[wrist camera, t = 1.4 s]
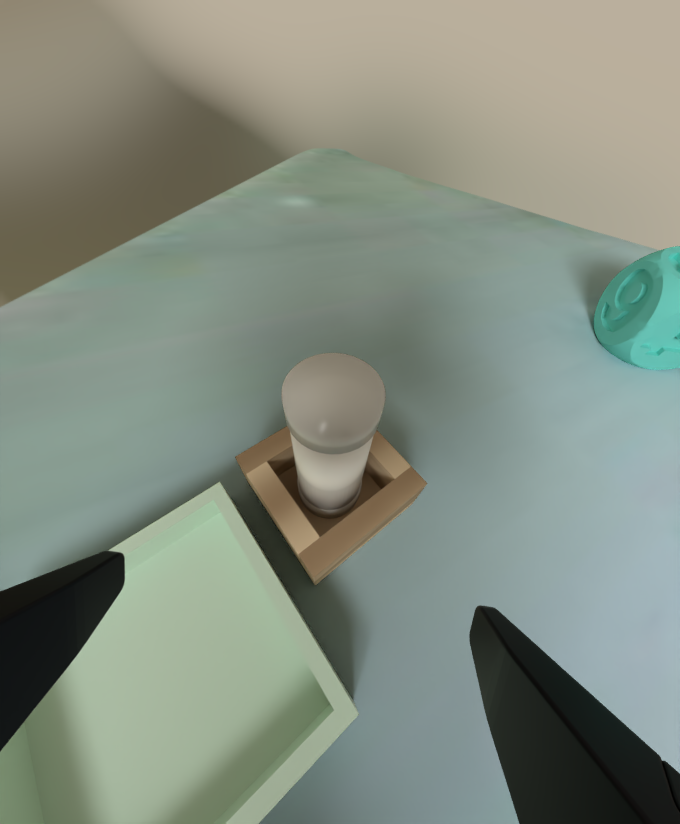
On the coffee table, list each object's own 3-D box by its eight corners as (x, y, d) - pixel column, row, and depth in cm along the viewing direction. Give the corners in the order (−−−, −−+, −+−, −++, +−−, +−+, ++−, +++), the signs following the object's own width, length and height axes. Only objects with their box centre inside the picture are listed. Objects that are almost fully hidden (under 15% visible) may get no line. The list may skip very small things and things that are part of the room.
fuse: (372, 493, 22) (407, 400, 13) (322, 531, 21) (322, 457, 11) (335, 449, 24) (342, 339, 15) (286, 481, 22) (261, 381, 13)
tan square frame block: (412, 504, 23) (427, 483, 20) (315, 585, 20) (313, 577, 16) (339, 422, 26) (342, 393, 23) (247, 481, 23) (235, 456, 20)
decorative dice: (690, 376, 31) (790, 308, 25) (606, 364, 32) (682, 294, 25) (658, 321, 36) (735, 251, 29) (584, 311, 36) (643, 239, 29)
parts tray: (353, 701, 17) (359, 714, 14) (68, 1003, 12) (1, 1103, 9) (231, 497, 23) (219, 481, 20) (2, 645, 18) (-52, 648, 15)
